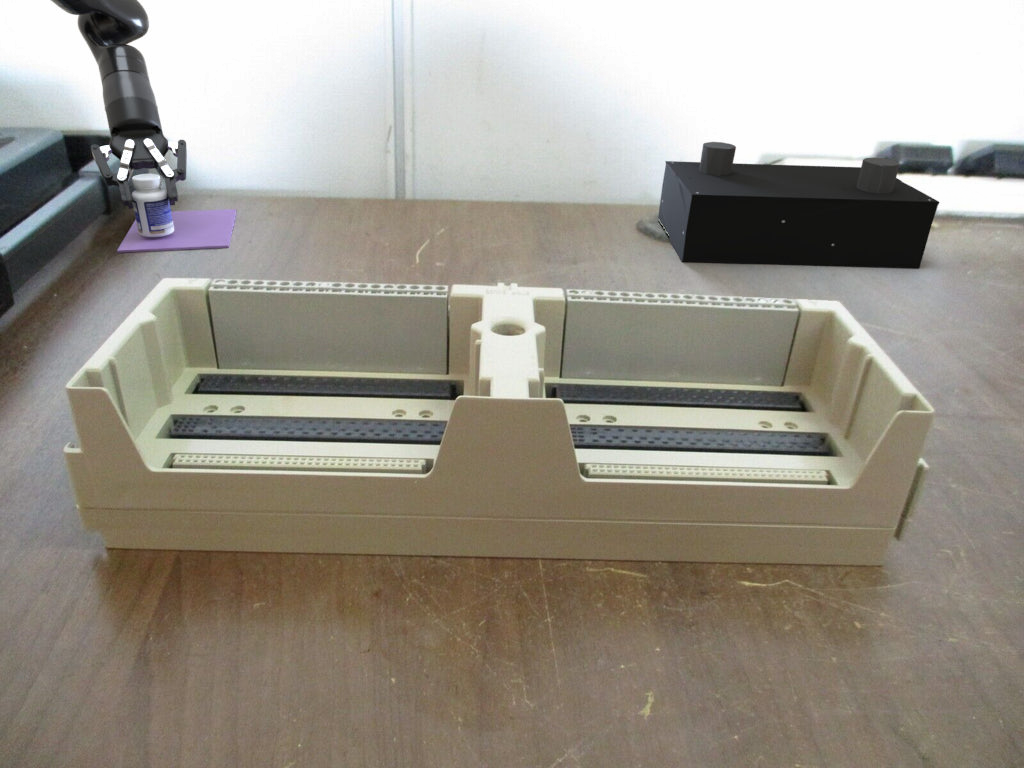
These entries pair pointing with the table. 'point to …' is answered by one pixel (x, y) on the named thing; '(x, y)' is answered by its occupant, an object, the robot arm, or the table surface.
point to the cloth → (186, 232)
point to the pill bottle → (151, 206)
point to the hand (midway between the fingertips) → (151, 204)
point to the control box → (793, 213)
